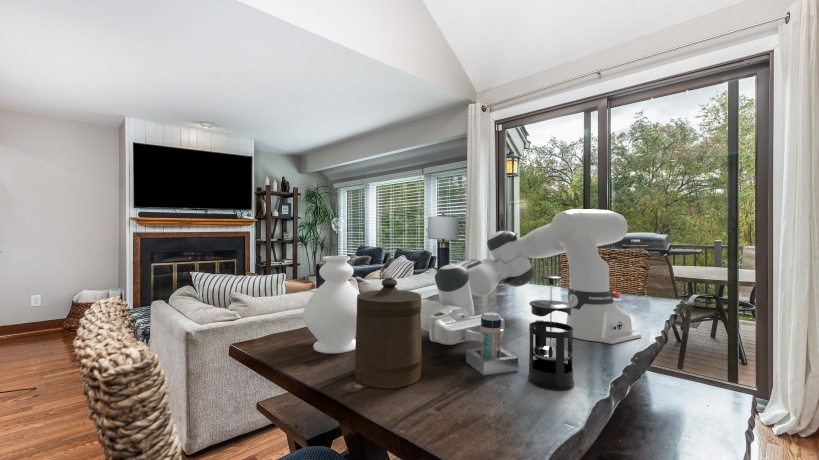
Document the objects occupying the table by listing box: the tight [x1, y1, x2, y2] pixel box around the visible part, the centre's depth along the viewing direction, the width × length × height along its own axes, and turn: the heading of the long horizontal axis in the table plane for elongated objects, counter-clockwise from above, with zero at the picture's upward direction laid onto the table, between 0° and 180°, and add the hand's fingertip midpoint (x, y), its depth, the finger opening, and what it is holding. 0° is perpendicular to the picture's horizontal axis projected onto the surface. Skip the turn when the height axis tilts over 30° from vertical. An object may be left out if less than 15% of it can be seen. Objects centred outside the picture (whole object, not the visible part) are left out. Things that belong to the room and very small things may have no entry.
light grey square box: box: [465, 347, 519, 376], centre depth 89 cm, size 9×9×3 cm
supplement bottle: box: [480, 311, 502, 359], centre depth 89 cm, size 5×5×12 cm
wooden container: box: [354, 277, 422, 389], centre depth 84 cm, size 15×15×22 cm
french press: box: [527, 274, 575, 392], centre depth 81 cm, size 12×9×23 cm
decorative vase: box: [303, 255, 361, 354], centre depth 104 cm, size 18×18×25 cm
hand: (493, 336), depth 88 cm, fingers closed on supplement bottle, 5 cm apart
